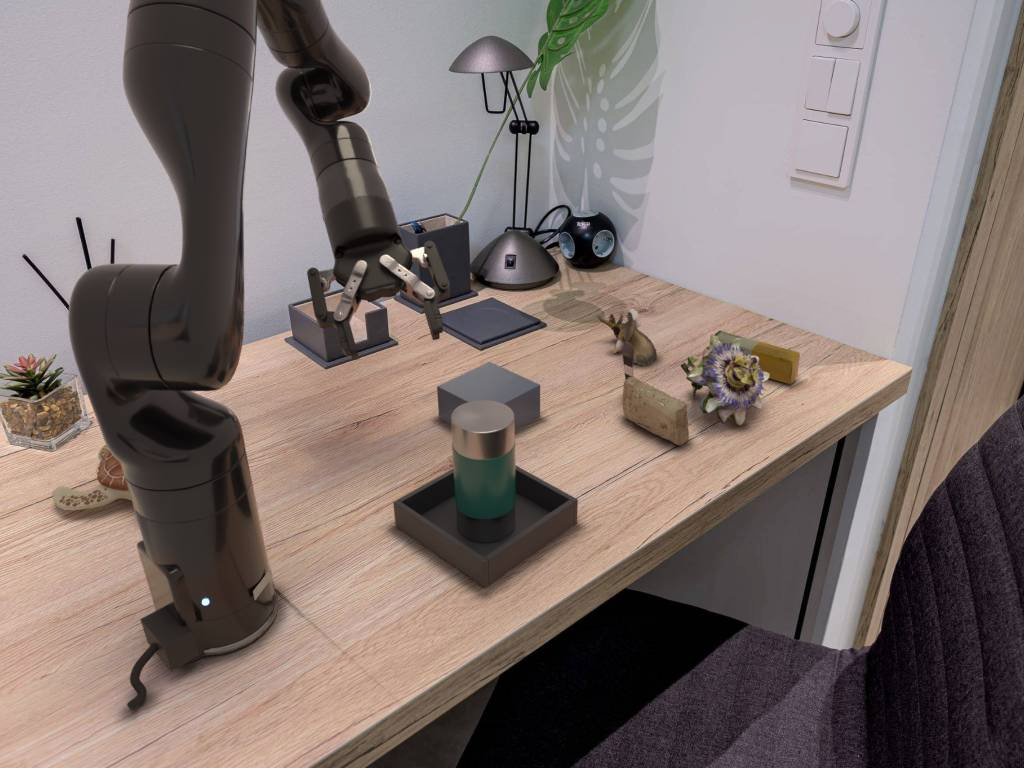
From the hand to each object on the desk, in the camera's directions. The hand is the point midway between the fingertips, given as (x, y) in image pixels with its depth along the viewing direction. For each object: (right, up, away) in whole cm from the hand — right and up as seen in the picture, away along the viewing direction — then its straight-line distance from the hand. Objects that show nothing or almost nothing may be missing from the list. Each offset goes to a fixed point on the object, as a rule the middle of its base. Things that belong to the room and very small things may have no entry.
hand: (396, 347), depth 84 cm
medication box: (+45, -2, +29) cm, 54 cm away
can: (+9, -18, 0) cm, 20 cm away
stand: (+9, -8, +19) cm, 22 cm away
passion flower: (+38, -7, +21) cm, 44 cm away
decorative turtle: (-29, -15, +8) cm, 34 cm away
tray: (+9, -19, 0) cm, 21 cm away
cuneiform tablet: (+29, -9, +18) cm, 35 cm away
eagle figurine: (+29, +1, +35) cm, 45 cm away
